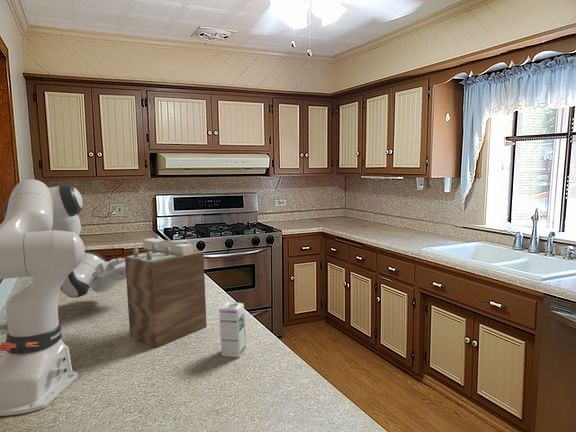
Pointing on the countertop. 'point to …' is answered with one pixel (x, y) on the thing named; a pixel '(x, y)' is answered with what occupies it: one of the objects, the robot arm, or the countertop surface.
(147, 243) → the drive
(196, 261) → the wooden peg block
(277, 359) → the countertop surface
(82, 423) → the countertop surface
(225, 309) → the syrup box
